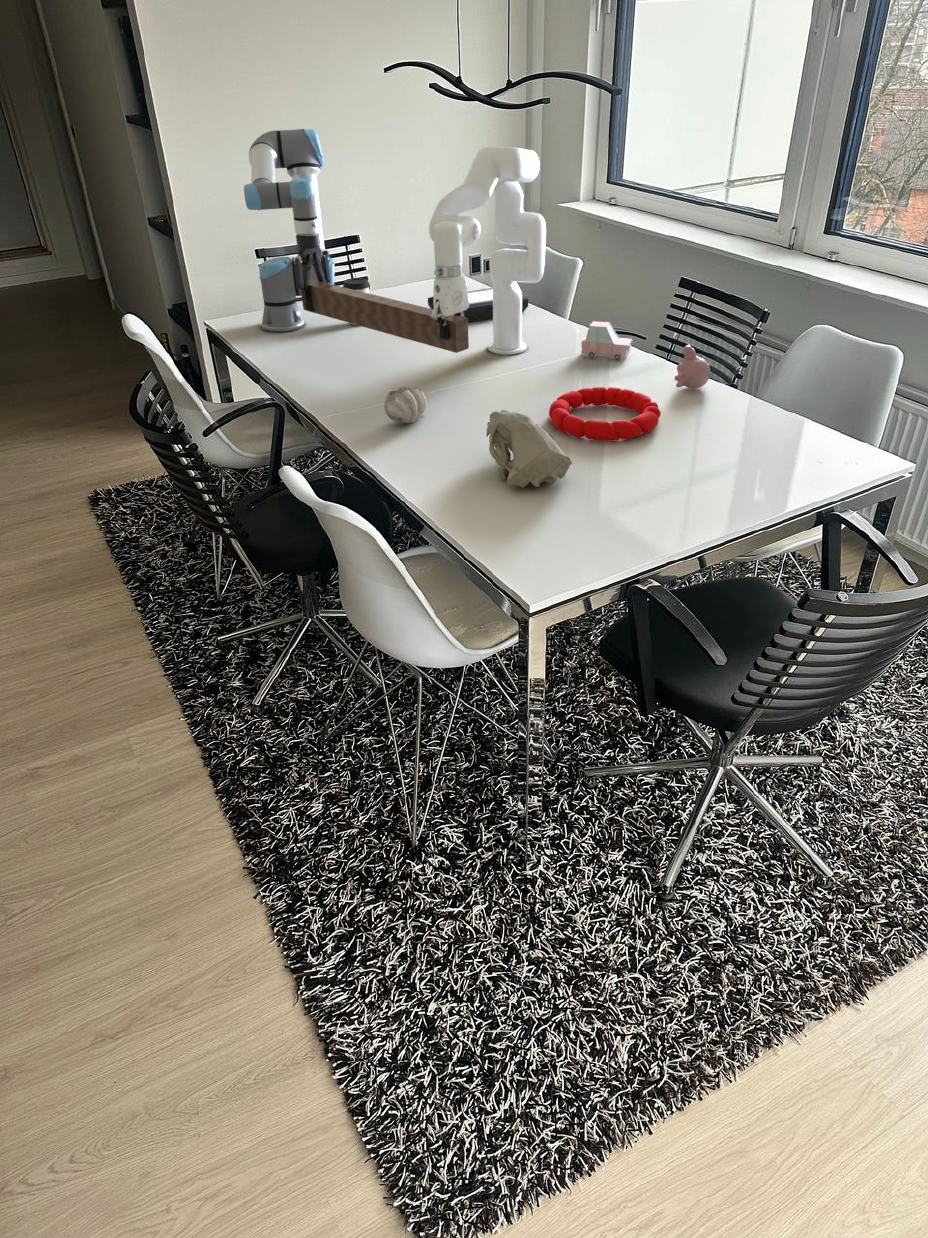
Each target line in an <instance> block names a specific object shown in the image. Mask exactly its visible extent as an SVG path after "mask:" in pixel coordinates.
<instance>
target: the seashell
mask: <svg viewBox="0 0 928 1238" xmlns="http://www.w3.org/2000/svg"><path fill="white" fill-rule="evenodd" d="M383 408H384V411H385V412H384V413H385V414H386V416H387V418H388V419H389V420H390V421H392V422H393V423H396V424H403V423H405V424H413V423H417V422H418V421H419V420H420V419H421V418H422V416H423V415H424V413H425V411H426V409H427V398H426V396H425V393H424V391H422V390H419V389H418V388H417V387H408V386H399V387H397V389H396V390H390V391H388V393H387V395H386V397H385V400H384V405H383Z"/></svg>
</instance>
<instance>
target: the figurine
mask: <svg viewBox="0 0 928 1238" xmlns="http://www.w3.org/2000/svg"><path fill="white" fill-rule="evenodd" d="M682 354H683V358H684V359H683V361H682V362H679V363H678V364H677V365H676V372H677V375H675V376H674V381H675V382H676V381H677V382H676V384H675V386H676V388H681V387H686V388H688V389H693V390H694V389H695V390H696V389H700V388H703V387H704V386H705V385H706V384H707V383H708V382H709V379H710V377H711V367H710V364H709V362H708V361H706V359H704V358H702V357H700V356H697V353H696V350H695V349H694V347H692V345H690V344H686V345H685V346H684V347H683V348H682Z"/></svg>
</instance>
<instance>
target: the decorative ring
mask: <svg viewBox="0 0 928 1238" xmlns="http://www.w3.org/2000/svg"><path fill="white" fill-rule="evenodd" d="M583 405H584V406H586V407H587V406H591V405H593V406H604V405H608V406H614V407H619V408H624V409H628V410H632V411H635V412H636V413H638V414H639V415H637V416H635V417H632V418H631V419H630V420H625V419H624V420H623V419H622V420H614V421H611V422H609V421H607V420H606V421H605V420H593V419H587V420H586V421H585V419H584V418H582V417H579V416H577V415H573V414H571V413H570V410H571V409H579V408H581V407H582V406H583ZM548 416H549V419H550V422H551V423H552V425H553V426H554V427H555V428H556V429H558V430H559V431H561V432H563V433H567V434H568V435H569V436H573V437H576V438H580V439H582V438H583V437H585V438H586V439H587V440H591V441H601V442H602V441H603V442H608V441H609V442H610V441H611V442H612V441H615V442H616V441H618V440H630V439H634V438H638V437H641V436H642V434H647V433H650V432H651V431H653V430H654V429H655V428H656V427H657V426H658V424H659V422H660V421H659V420H660V417H661V410H660V408H659V405H658V403H657V402H656V401H652V399H651V397H649V396H648V395H646V394H644V393H642V392H635V391H634V390H632V389H628V388H624V389H622V388H620V387H613V386H612V387H611V386H610V387H608V388H606V387H604V386H594V387H585V388H584V387H583V388H580V389H578V390H571V391H568V392H565V393H563V394H561V395H560V396H558V397H557V398H556V400H554V401H552V403H551V404H550V407H549V409H548Z"/></svg>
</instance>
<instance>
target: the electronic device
mask: <svg viewBox="0 0 928 1238" xmlns="http://www.w3.org/2000/svg"><path fill="white" fill-rule="evenodd" d="M468 302H469V303H470V306H469V308H468V309H467V312H466V314H465V317H466V318H468V323H469V322H475V321H477V322H478V321H483V320H489V319H493V288H492V287H488V288H482V289H481V288H480V289H474V290H468ZM427 307H428V308H430V309H434V303H433V296H429V297H428V298H427ZM528 307H529V298H527V297H526V296H524V295H522V314H524V312H525V311H526V310H527V308H528Z"/></svg>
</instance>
